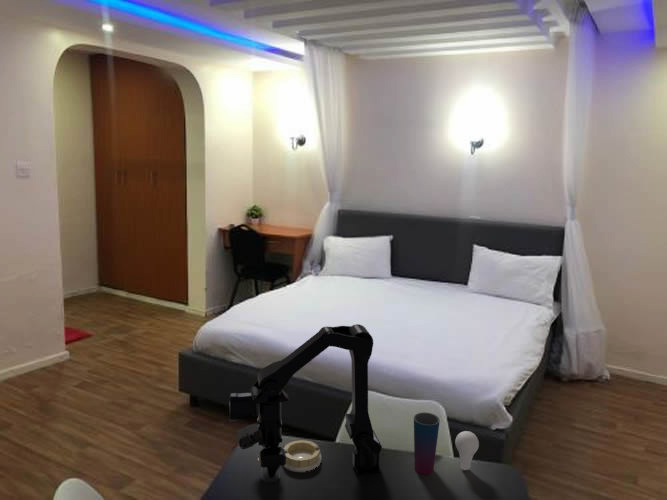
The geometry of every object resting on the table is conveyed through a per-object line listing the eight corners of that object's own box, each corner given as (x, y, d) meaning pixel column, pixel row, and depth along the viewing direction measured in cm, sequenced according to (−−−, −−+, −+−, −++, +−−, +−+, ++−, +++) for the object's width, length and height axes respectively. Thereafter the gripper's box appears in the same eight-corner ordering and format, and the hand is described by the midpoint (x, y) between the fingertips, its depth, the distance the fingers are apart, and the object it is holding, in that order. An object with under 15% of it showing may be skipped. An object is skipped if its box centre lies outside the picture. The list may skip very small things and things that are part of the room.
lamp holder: (317, 447, 160) (317, 436, 159) (324, 470, 149) (324, 457, 149) (279, 451, 158) (279, 439, 157) (283, 474, 147) (283, 462, 146)
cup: (416, 478, 146) (419, 426, 143) (407, 463, 153) (410, 413, 150) (440, 475, 148) (443, 423, 145) (431, 461, 154) (433, 411, 151)
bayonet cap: (281, 469, 149) (281, 445, 148) (283, 481, 144) (283, 457, 143) (257, 471, 148) (257, 448, 146) (259, 484, 143) (258, 459, 141)
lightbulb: (477, 477, 147) (480, 439, 145) (453, 474, 148) (456, 437, 146) (476, 464, 153) (478, 428, 150) (453, 461, 154) (455, 425, 152)
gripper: (237, 402, 150) (238, 454, 153) (239, 438, 132) (240, 497, 135) (278, 399, 152) (278, 450, 155) (286, 434, 134) (286, 492, 137)
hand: (270, 471), depth 146 cm, fingers closed on bayonet cap, 5 cm apart
